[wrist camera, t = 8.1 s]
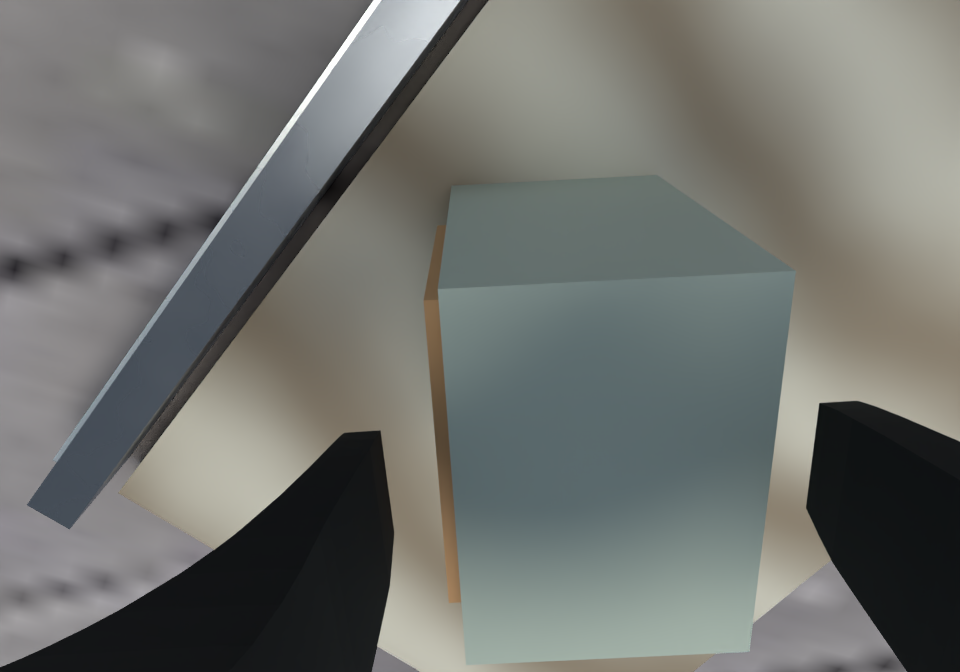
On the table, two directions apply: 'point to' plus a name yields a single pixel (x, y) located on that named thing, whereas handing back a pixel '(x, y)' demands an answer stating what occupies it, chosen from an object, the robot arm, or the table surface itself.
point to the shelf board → (602, 154)
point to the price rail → (245, 244)
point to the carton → (602, 418)
